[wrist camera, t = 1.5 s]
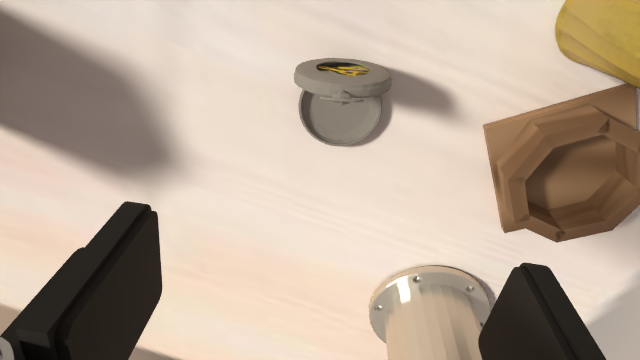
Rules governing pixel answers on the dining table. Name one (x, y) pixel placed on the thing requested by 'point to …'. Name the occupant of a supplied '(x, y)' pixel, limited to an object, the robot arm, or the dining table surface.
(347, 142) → the pocket watch
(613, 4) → the vase
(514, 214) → the collar
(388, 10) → the dining table surface
